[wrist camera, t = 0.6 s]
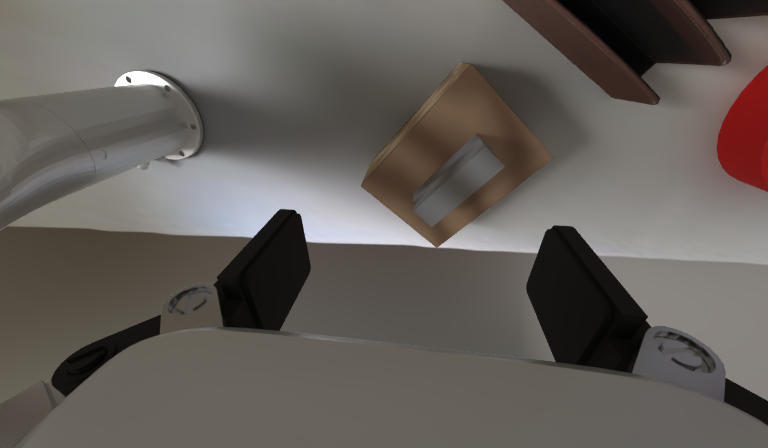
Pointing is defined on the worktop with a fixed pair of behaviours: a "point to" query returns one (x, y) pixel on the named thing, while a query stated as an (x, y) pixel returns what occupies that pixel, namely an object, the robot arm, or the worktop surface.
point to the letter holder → (634, 36)
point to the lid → (456, 160)
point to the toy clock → (747, 135)
